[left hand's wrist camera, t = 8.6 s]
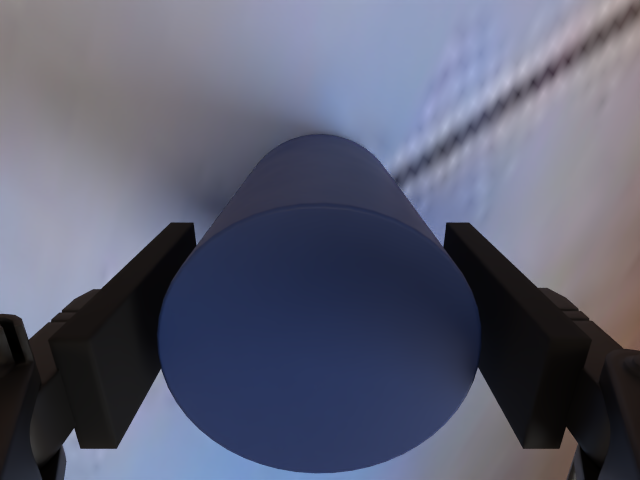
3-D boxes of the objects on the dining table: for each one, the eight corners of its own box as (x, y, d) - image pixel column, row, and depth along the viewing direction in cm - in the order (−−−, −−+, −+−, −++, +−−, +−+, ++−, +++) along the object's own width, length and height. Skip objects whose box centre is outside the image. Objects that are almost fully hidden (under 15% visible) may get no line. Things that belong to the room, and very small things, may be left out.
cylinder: (369, 109, 17) (437, 148, 7) (415, 254, 20) (511, 431, 10) (216, 168, 18) (91, 274, 8) (278, 300, 20) (239, 502, 11)
